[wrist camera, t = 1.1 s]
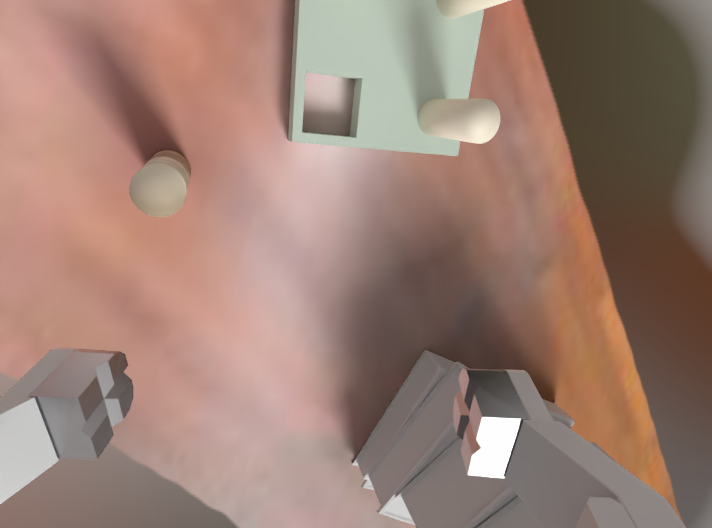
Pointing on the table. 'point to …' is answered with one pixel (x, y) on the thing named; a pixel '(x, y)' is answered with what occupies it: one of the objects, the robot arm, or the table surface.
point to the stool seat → (395, 72)
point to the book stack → (436, 459)
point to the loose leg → (161, 184)
